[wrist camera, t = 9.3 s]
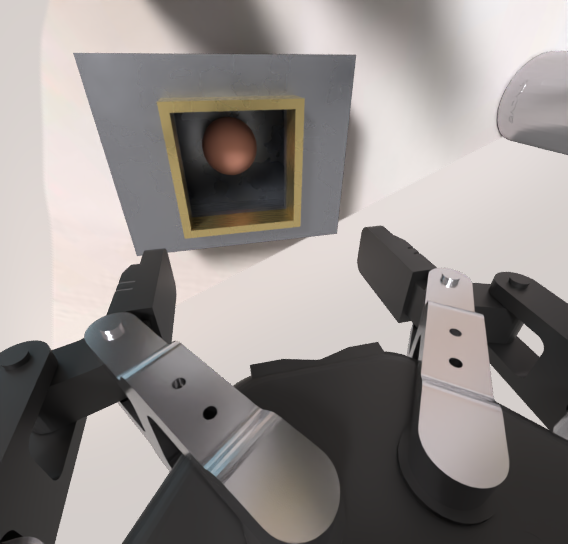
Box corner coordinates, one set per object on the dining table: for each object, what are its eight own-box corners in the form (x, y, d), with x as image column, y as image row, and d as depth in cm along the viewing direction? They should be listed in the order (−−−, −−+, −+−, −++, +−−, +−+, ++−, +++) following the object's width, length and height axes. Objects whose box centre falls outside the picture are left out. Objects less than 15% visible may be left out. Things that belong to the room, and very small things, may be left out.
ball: (251, 112, 30) (259, 120, 26) (254, 165, 32) (261, 180, 28) (198, 114, 29) (197, 122, 25) (205, 168, 31) (206, 183, 27)
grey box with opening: (315, 57, 29) (372, 53, 20) (309, 200, 37) (347, 246, 27) (108, 56, 25) (57, 51, 16) (150, 214, 33) (132, 272, 24)
